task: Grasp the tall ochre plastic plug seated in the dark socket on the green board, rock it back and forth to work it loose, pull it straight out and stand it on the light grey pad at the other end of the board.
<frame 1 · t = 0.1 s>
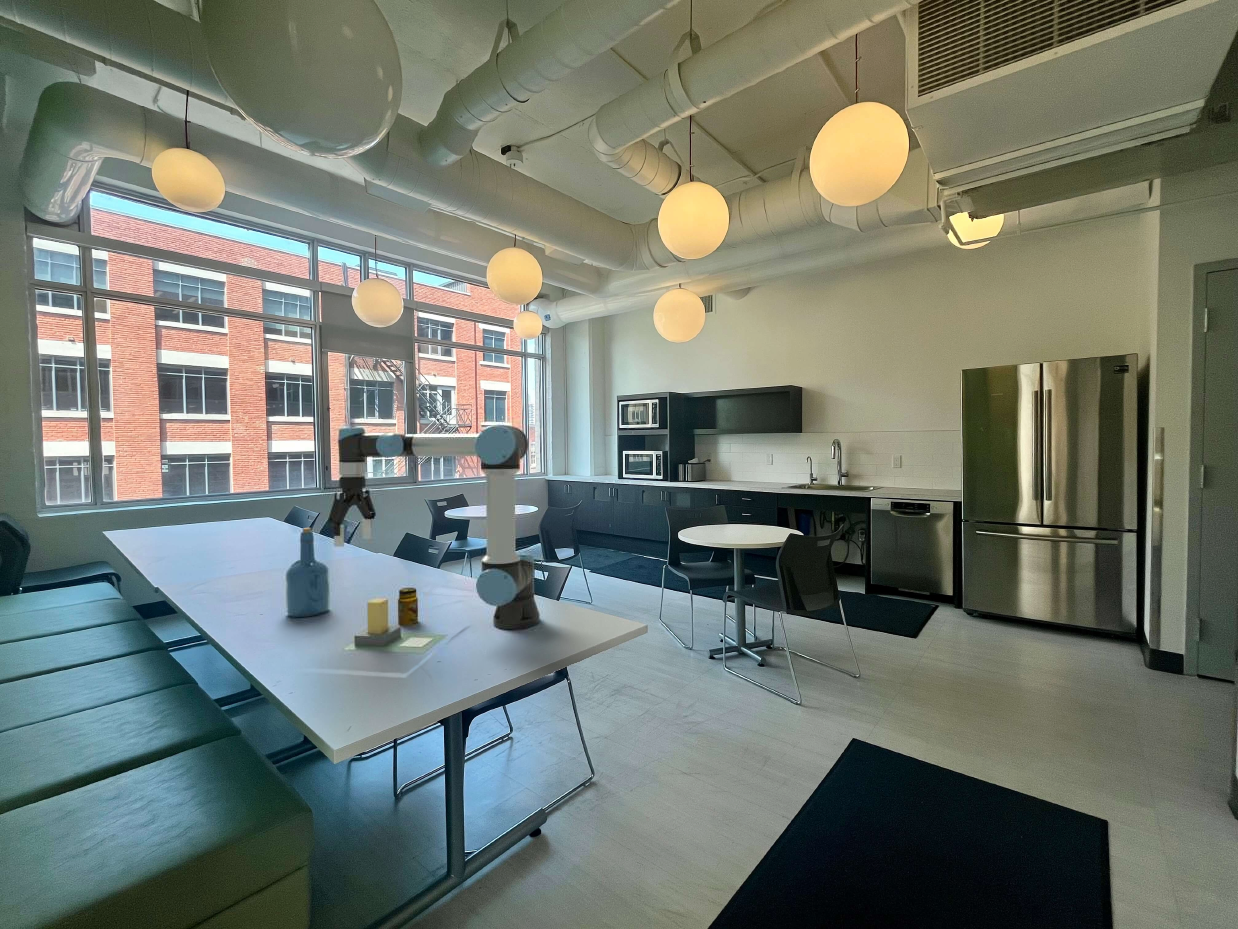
hand: (353, 542, 169), 28 cm above the table, fingers open, 13 cm apart
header: (397, 645, 156), on the table
condiment: (405, 626, 173), on the table
plug: (378, 641, 156), point 1 cm above the table, touching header
wine bottle: (308, 613, 188), on the table
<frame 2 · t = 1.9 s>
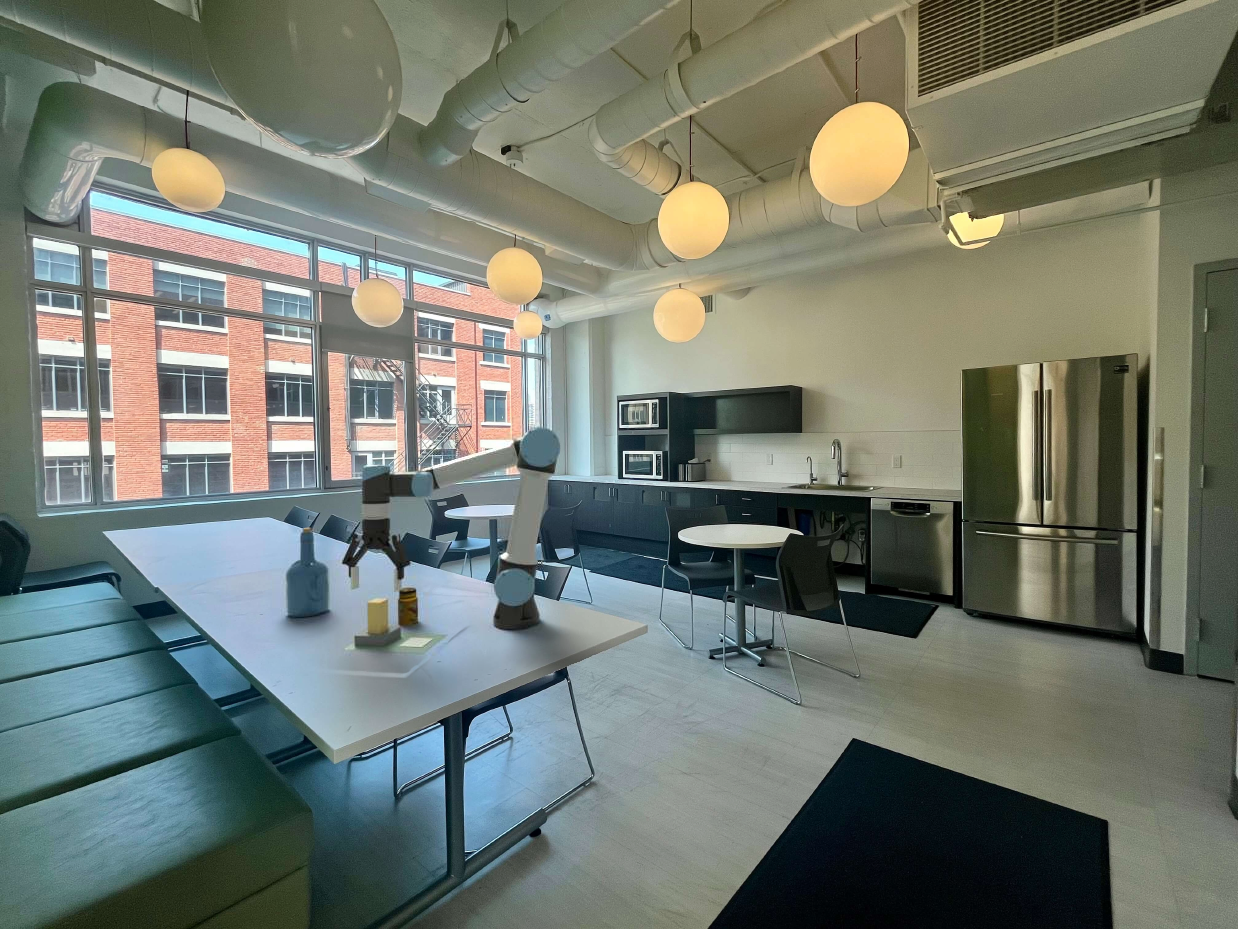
hand: (376, 589, 156), 16 cm above the table, fingers open, 13 cm apart
nothing on the table moved.
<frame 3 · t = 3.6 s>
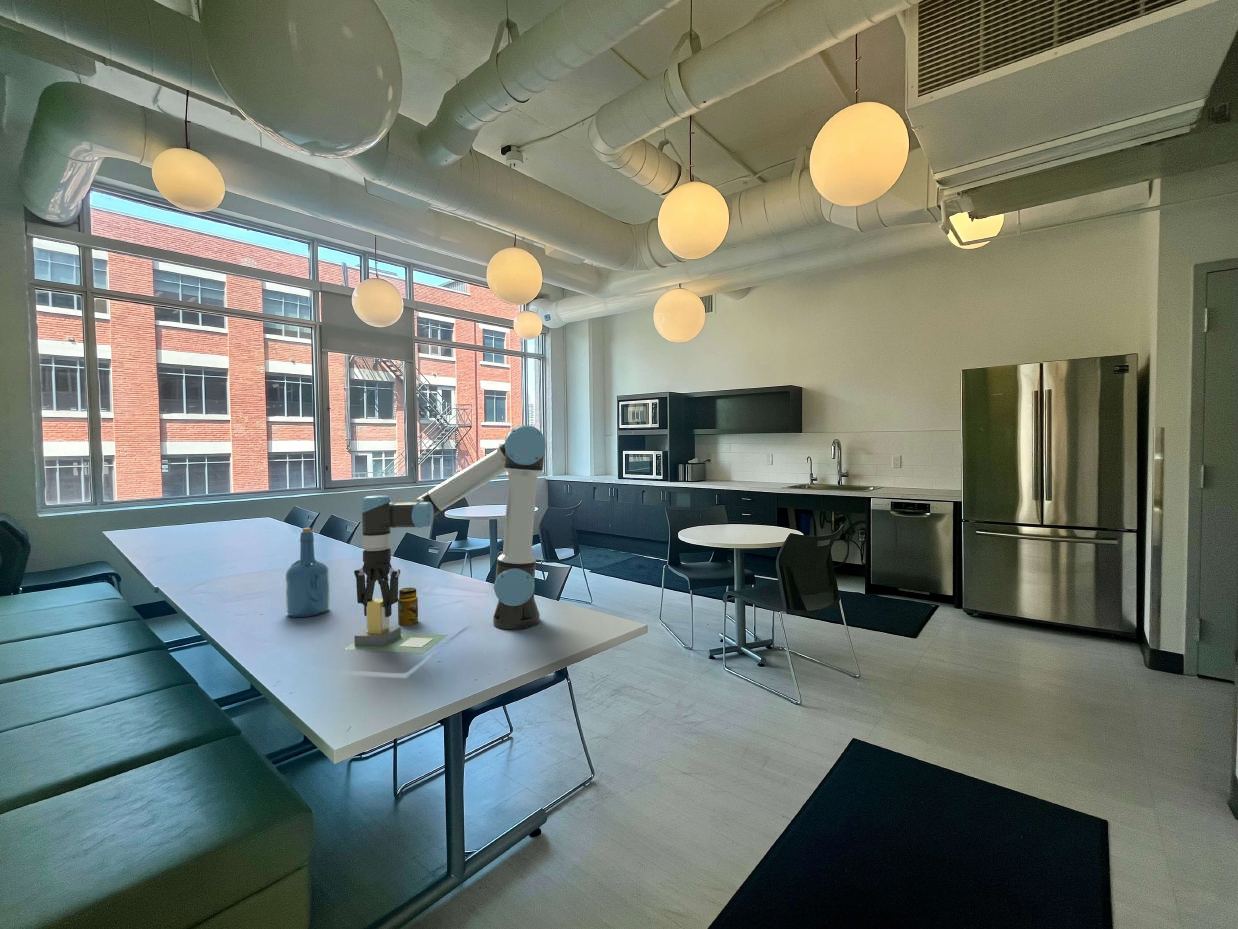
hand: (378, 627, 156), 5 cm above the table, fingers closed on plug, 4 cm apart
plug: (378, 641, 156), point 1 cm above the table, touching gripper, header
everything else where it was.
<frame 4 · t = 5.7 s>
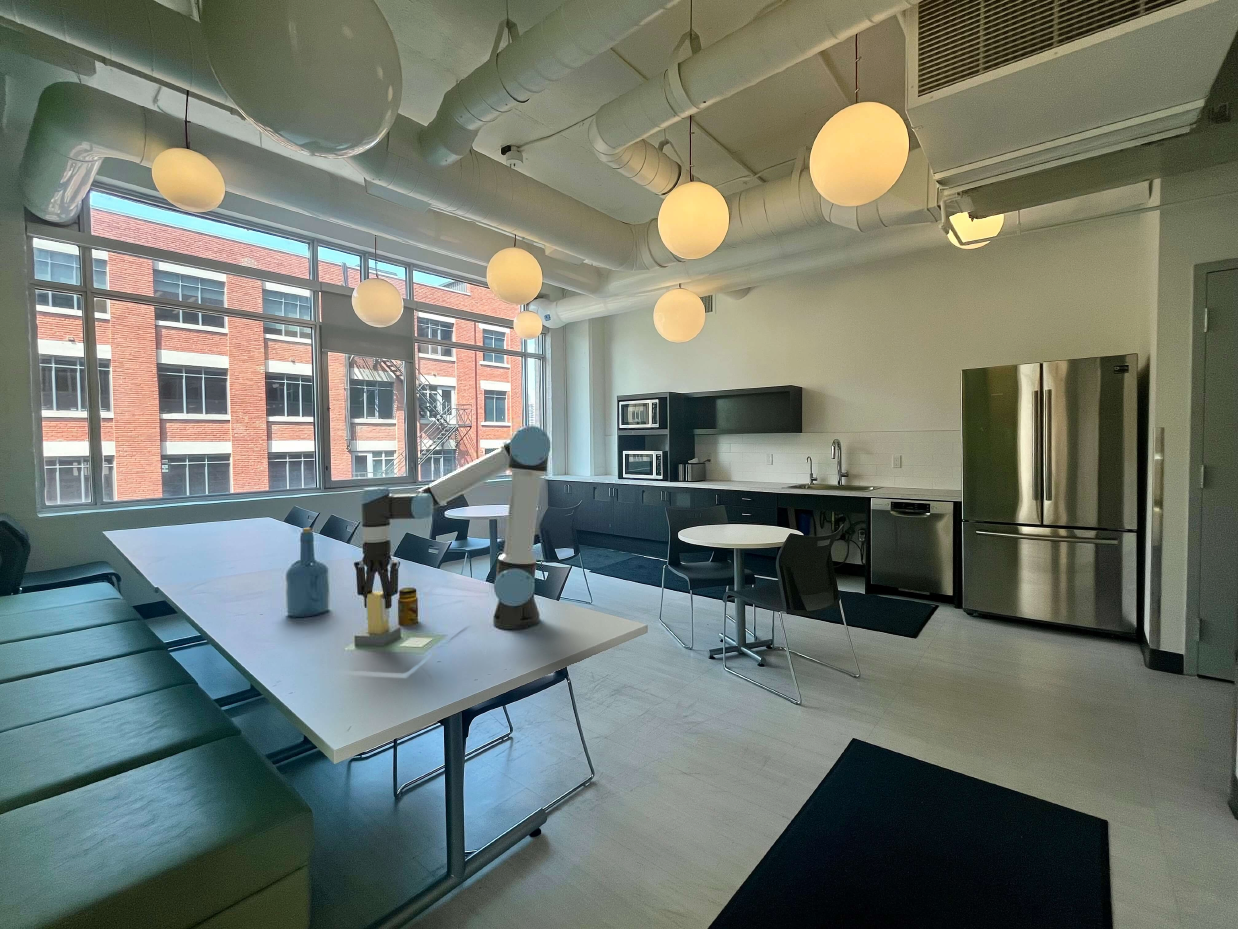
hand: (378, 618, 156), 8 cm above the table, fingers closed on plug, 4 cm apart
plug: (378, 633, 156), point 3 cm above the table, touching gripper
everything else where it was.
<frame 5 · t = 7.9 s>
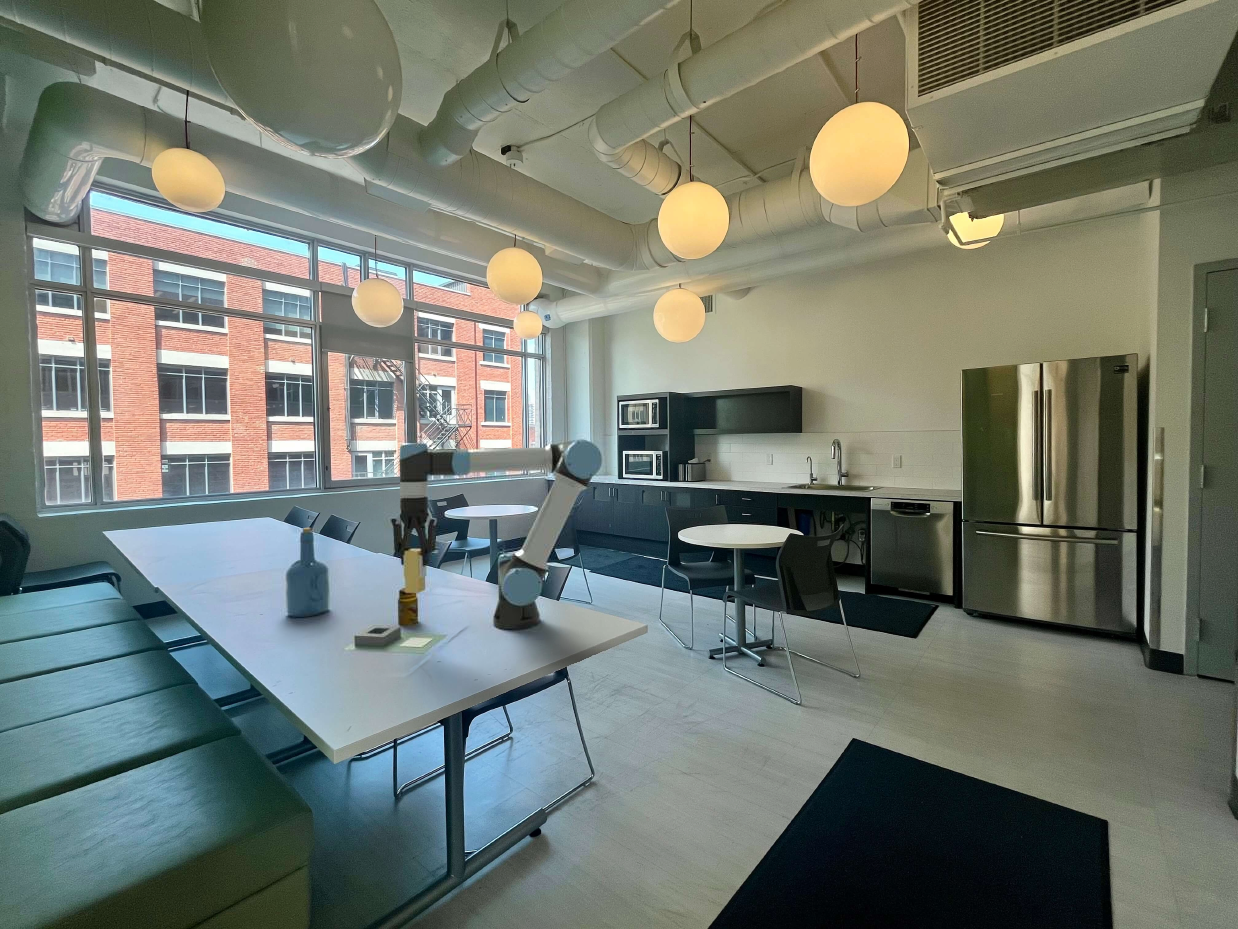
hand: (415, 576, 154), 21 cm above the table, fingers closed on plug, 4 cm apart
plug: (415, 591, 154), point 16 cm above the table, touching gripper
everything else where it was.
when the fingers open (7 cm above the table, at t = 10.1 s): plug drops 1 cm, resting on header.
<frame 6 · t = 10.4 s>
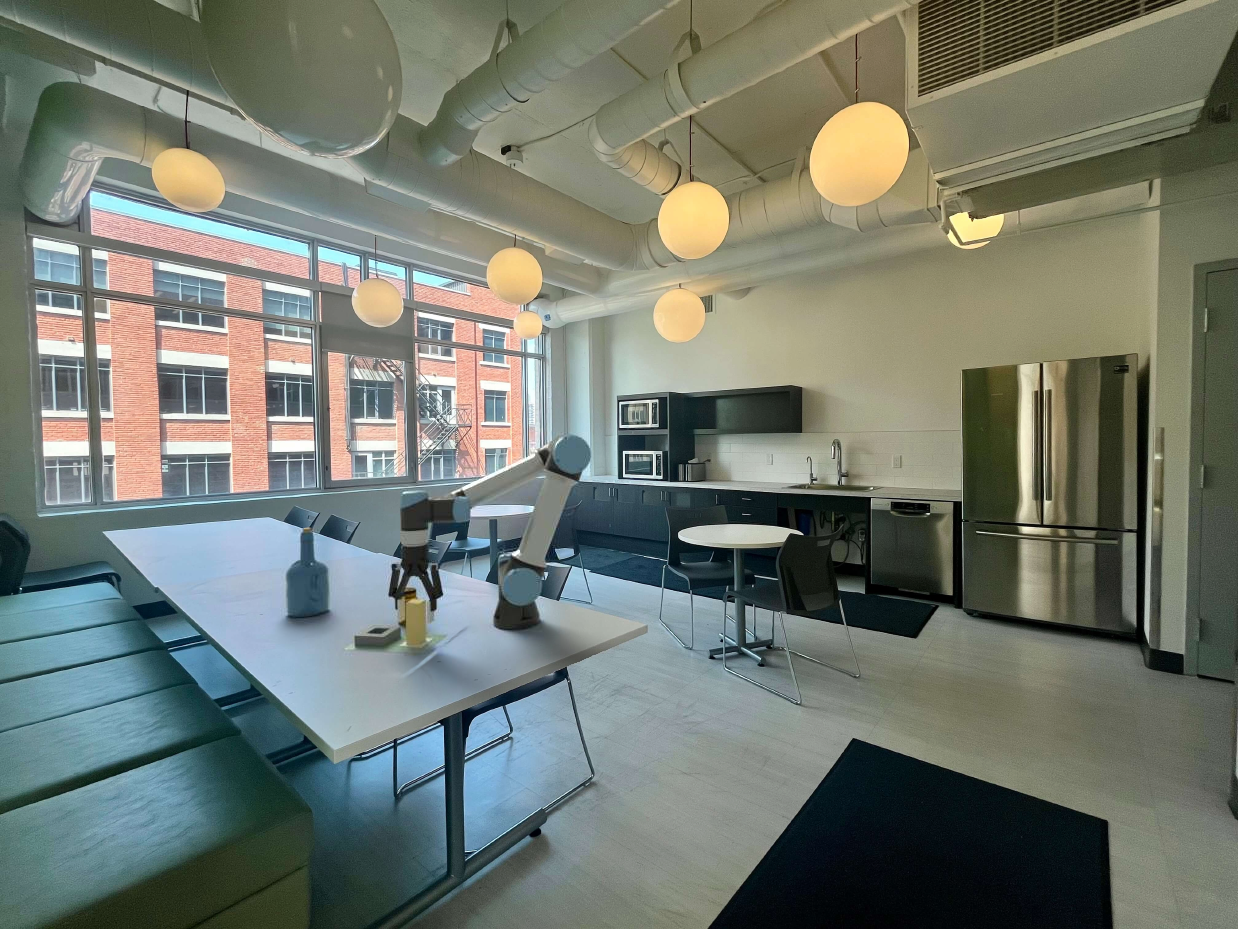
hand: (416, 621, 155), 7 cm above the table, fingers open, 8 cm apart
plug: (416, 642, 155), point 1 cm above the table, touching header
everything else where it was.
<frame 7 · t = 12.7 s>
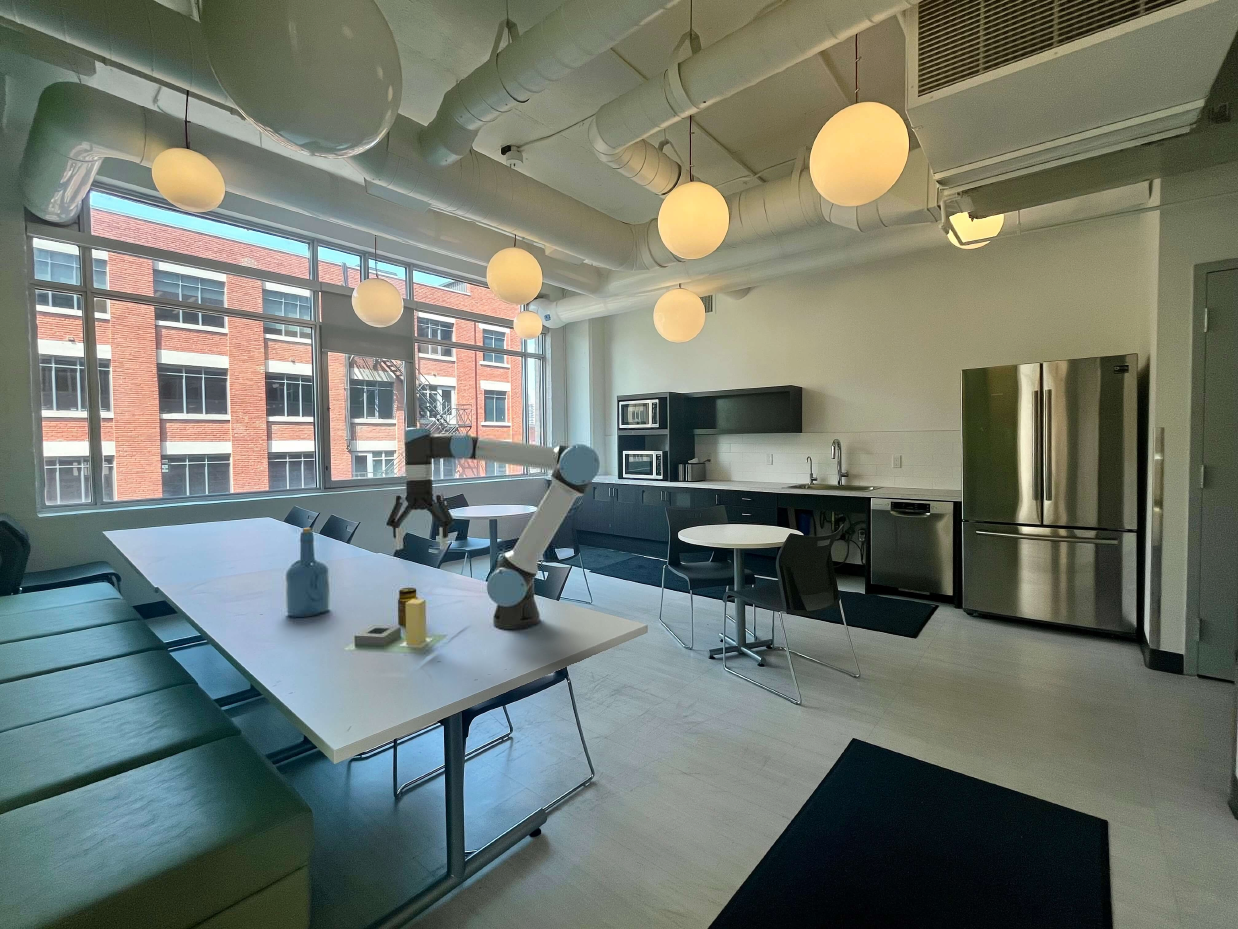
hand: (421, 548, 161), 27 cm above the table, fingers open, 13 cm apart
nothing on the table moved.
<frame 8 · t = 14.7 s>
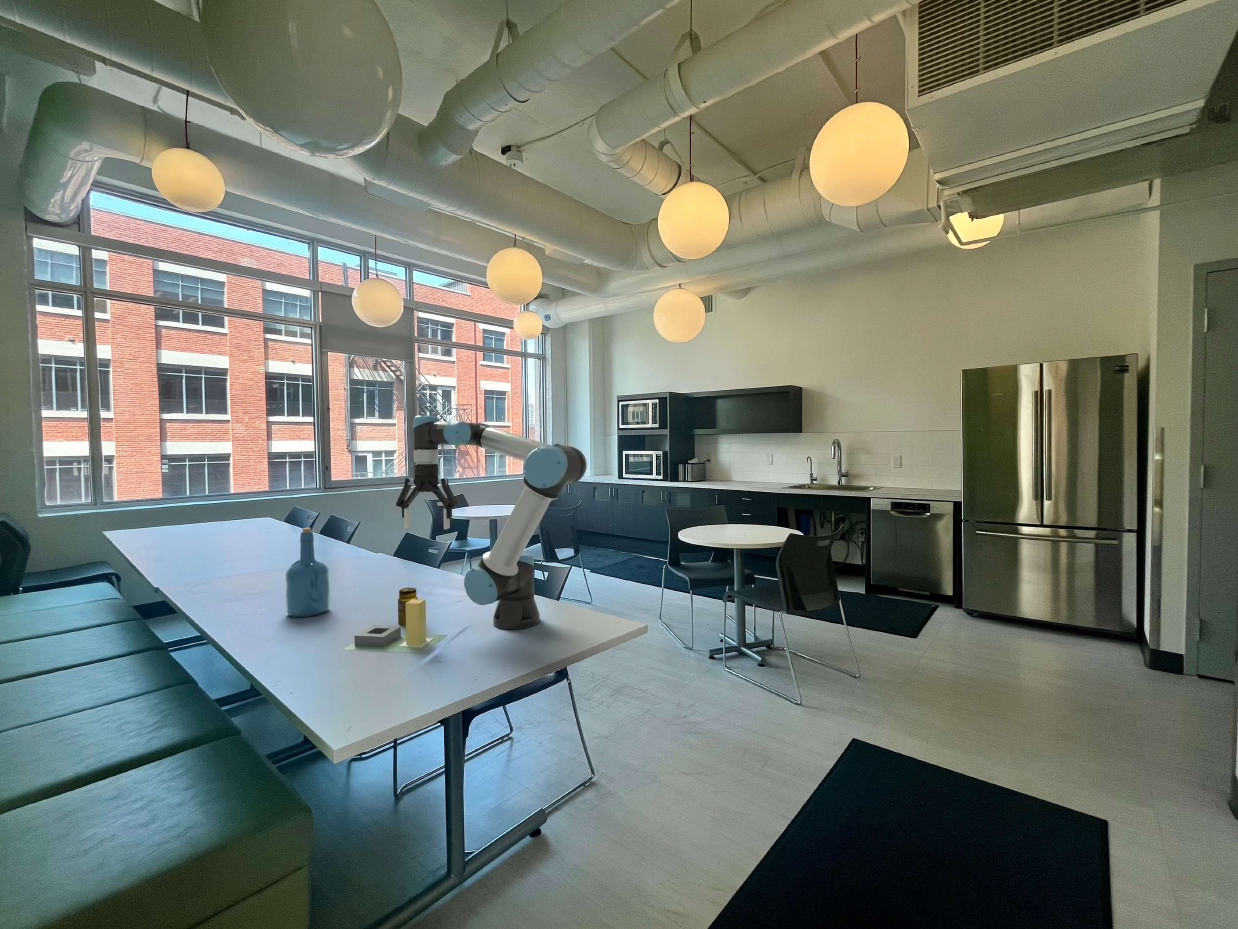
hand: (427, 528, 173), 32 cm above the table, fingers open, 13 cm apart
nothing on the table moved.
at the end: plug inside the target area on the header (0.0 cm from its centre), point 1.2 cm above the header's base; plug tilted 0°; the gripper is holding nothing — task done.
